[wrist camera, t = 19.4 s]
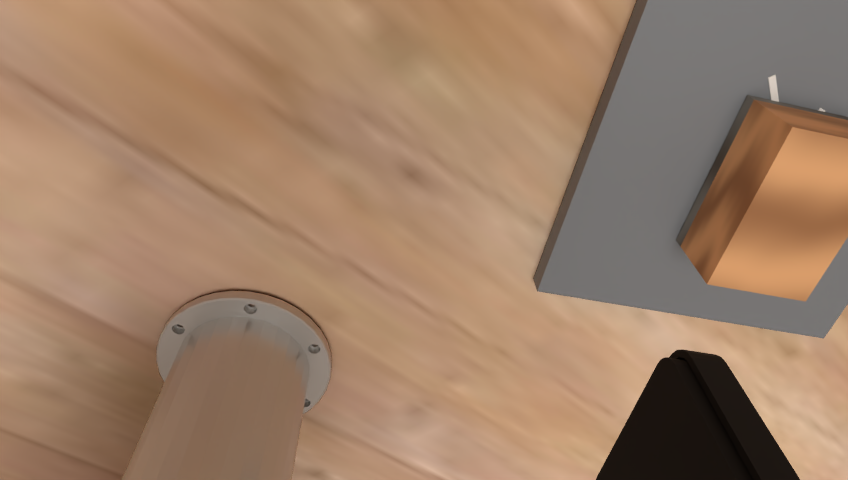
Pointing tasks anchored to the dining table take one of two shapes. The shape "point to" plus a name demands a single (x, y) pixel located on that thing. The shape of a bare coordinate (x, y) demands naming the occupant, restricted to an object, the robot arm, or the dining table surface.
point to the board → (691, 154)
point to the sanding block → (772, 201)
